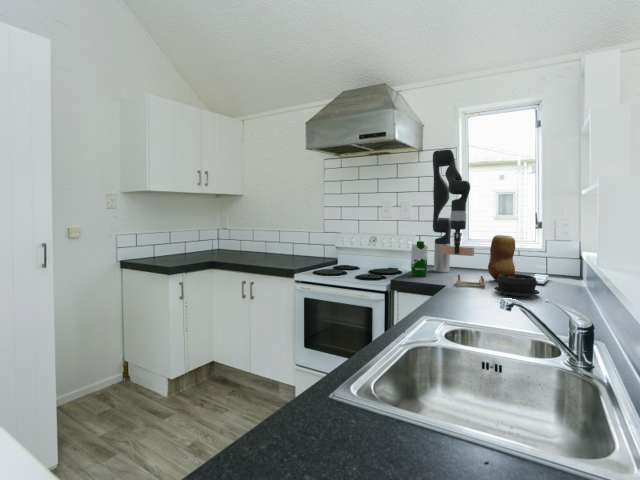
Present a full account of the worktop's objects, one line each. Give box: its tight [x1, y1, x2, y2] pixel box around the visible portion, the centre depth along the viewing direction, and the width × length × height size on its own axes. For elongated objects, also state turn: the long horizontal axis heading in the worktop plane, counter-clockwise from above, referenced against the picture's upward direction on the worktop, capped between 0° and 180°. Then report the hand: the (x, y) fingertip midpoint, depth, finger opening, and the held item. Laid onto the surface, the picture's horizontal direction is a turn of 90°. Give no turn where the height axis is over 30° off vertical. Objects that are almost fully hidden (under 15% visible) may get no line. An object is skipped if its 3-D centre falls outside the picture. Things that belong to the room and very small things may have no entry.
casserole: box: [494, 273, 540, 298], centre depth 180 cm, size 25×19×8 cm
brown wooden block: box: [440, 245, 475, 257], centre depth 203 cm, size 4×16×4 cm, turn 58°
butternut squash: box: [487, 234, 516, 283], centre depth 213 cm, size 14×13×25 cm
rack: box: [456, 274, 486, 289], centre depth 201 cm, size 10×13×4 cm
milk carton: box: [410, 240, 428, 278], centre depth 228 cm, size 9×9×20 cm
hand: (456, 253), depth 203 cm, fingers closed on brown wooden block, 4 cm apart
